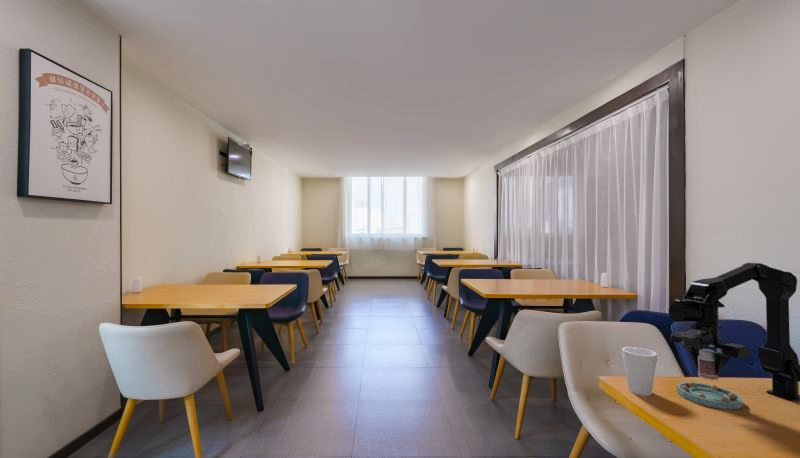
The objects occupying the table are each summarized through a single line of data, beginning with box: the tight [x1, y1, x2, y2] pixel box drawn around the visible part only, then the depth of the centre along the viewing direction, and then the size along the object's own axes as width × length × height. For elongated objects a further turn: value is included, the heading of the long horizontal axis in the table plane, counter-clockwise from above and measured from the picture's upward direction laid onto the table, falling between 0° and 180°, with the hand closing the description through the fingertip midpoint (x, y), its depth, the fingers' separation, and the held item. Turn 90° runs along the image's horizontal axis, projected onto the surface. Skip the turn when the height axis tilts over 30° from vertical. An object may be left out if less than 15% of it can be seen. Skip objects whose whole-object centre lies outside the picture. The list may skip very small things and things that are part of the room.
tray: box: [676, 381, 743, 411], centre depth 108 cm, size 15×15×3 cm
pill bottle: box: [697, 348, 719, 381], centre depth 109 cm, size 5×5×8 cm
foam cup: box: [621, 346, 658, 397], centre depth 113 cm, size 10×9×13 cm
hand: (708, 371), depth 109 cm, fingers closed on pill bottle, 5 cm apart
